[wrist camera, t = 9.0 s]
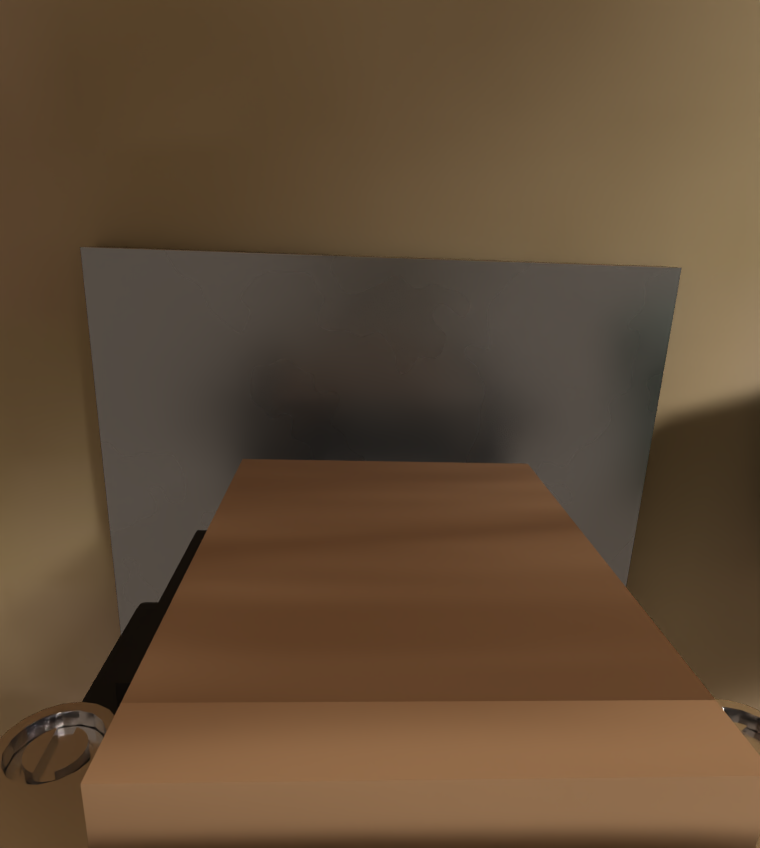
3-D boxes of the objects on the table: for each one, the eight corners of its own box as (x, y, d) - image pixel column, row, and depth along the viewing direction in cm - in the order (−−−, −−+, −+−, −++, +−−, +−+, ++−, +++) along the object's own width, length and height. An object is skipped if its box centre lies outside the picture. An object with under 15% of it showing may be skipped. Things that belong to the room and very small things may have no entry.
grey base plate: (93, 247, 12) (-216, 254, 6) (666, 266, 13) (1004, 295, 6) (140, 725, 16) (-16, 1081, 9) (590, 722, 16) (755, 1054, 10)
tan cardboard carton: (242, 459, 11) (80, 783, 4) (527, 463, 11) (776, 776, 5) (250, 698, 12) (138, 1206, 6) (501, 697, 13) (660, 1179, 6)
